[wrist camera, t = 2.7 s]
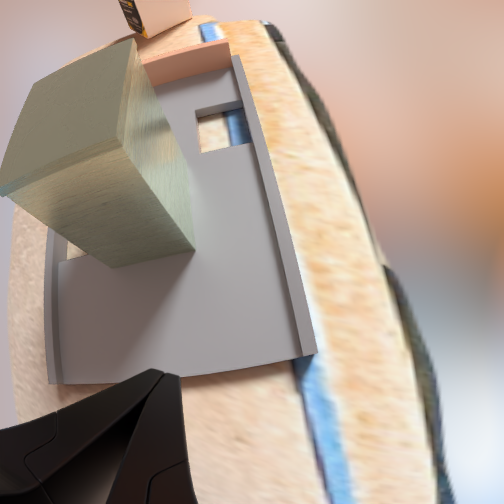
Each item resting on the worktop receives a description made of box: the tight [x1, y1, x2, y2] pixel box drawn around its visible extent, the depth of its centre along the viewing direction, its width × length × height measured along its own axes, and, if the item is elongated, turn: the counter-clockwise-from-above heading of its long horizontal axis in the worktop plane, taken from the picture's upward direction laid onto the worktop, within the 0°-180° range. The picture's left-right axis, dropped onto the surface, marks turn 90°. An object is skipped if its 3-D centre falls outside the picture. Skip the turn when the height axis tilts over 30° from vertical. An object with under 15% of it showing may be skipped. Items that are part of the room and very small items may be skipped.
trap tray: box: [44, 38, 318, 384], centre depth 20 cm, size 26×18×4 cm
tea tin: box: [0, 37, 196, 269], centre depth 15 cm, size 7×6×11 cm
